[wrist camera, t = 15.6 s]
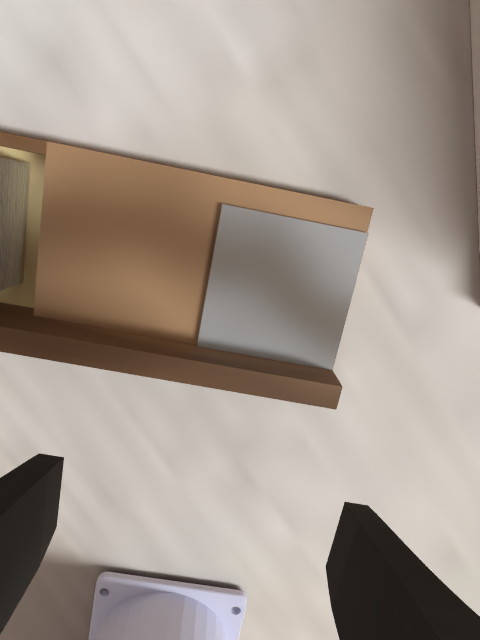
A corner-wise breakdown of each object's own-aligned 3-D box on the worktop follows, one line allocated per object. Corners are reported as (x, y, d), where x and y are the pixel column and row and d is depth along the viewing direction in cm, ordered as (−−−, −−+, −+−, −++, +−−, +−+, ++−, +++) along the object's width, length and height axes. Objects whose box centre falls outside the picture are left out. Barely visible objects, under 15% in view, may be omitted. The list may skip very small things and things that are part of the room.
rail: (320, 378, 21) (336, 409, 18) (-212, 284, 19) (-297, 300, 16) (364, 207, 19) (391, 208, 16) (-224, 87, 17) (-323, 62, 14)
